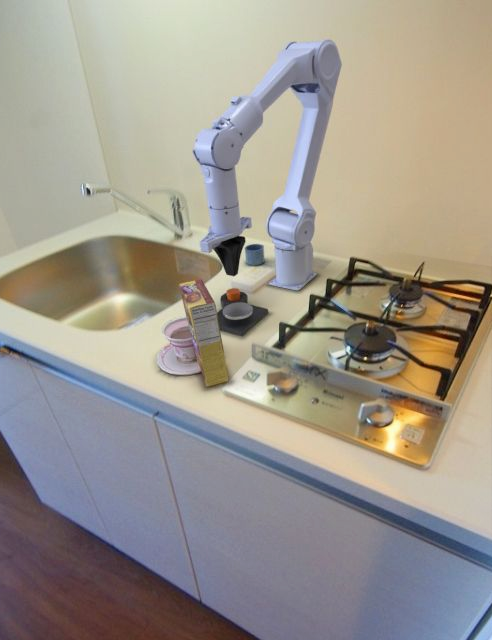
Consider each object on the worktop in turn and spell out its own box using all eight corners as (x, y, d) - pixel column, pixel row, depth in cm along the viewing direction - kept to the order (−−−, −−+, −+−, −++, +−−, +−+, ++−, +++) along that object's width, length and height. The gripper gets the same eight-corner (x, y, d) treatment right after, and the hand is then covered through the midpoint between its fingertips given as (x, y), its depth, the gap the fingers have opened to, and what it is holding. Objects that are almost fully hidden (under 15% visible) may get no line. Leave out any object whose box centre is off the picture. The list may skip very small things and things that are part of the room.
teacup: (234, 347, 81) (230, 318, 77) (197, 383, 73) (190, 353, 69) (183, 334, 86) (177, 306, 82) (144, 366, 78) (135, 337, 74)
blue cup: (252, 257, 113) (251, 242, 111) (268, 260, 111) (267, 245, 108) (242, 264, 110) (240, 249, 108) (258, 267, 108) (257, 252, 105)
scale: (232, 301, 95) (230, 288, 93) (271, 311, 91) (270, 298, 89) (200, 325, 88) (198, 312, 86) (242, 336, 83) (240, 323, 82)
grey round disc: (234, 302, 88) (233, 299, 88) (258, 308, 86) (258, 305, 85) (217, 315, 84) (216, 313, 84) (242, 322, 82) (241, 319, 81)
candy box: (194, 360, 78) (177, 282, 68) (216, 354, 79) (204, 277, 69) (204, 388, 72) (188, 307, 62) (229, 382, 73) (217, 301, 63)
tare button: (232, 294, 92) (231, 287, 91) (243, 297, 91) (242, 289, 90) (224, 300, 90) (223, 292, 89) (235, 302, 89) (234, 295, 88)
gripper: (228, 192, 85) (235, 258, 94) (181, 214, 76) (195, 285, 85) (258, 195, 82) (263, 263, 91) (213, 219, 73) (223, 292, 82)
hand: (232, 274), depth 88 cm, fingers closed
